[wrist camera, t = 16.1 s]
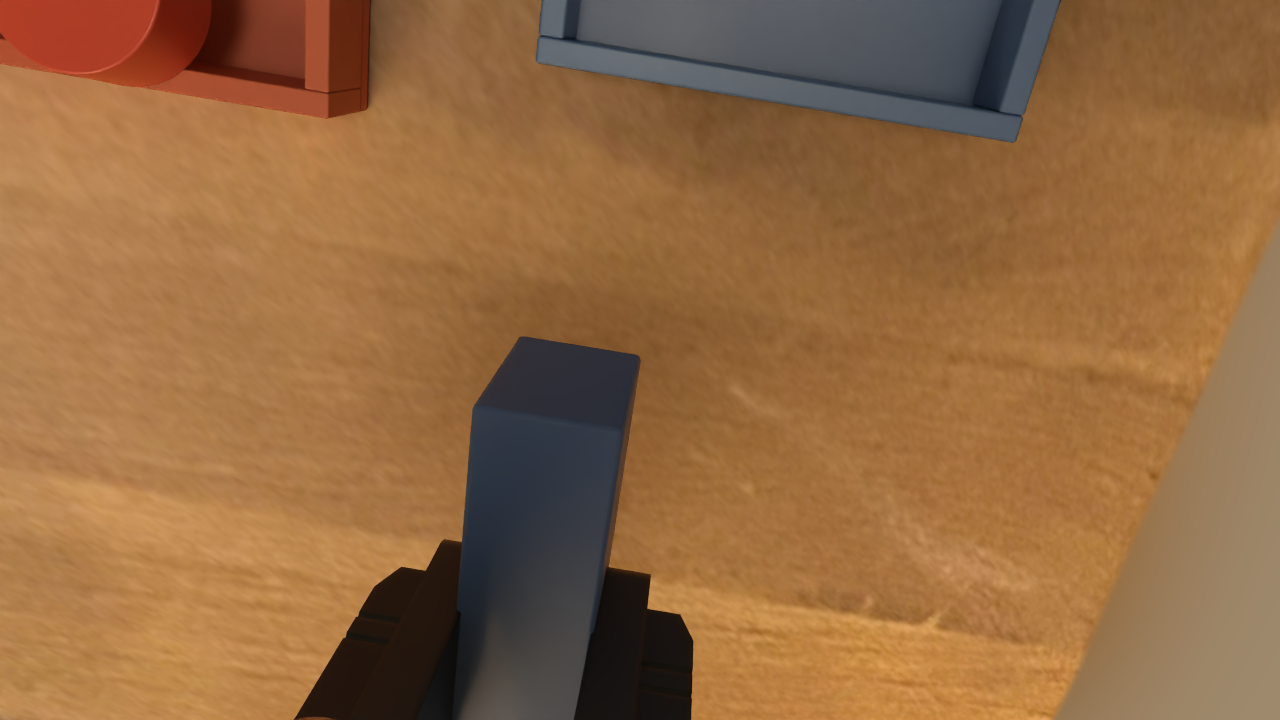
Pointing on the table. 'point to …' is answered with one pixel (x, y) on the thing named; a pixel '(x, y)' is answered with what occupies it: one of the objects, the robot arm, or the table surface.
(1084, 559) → the table surface
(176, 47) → the red spoon
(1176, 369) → the table surface
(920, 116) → the blue tray
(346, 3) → the red tray
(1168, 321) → the table surface
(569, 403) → the blue spoon
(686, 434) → the table surface
